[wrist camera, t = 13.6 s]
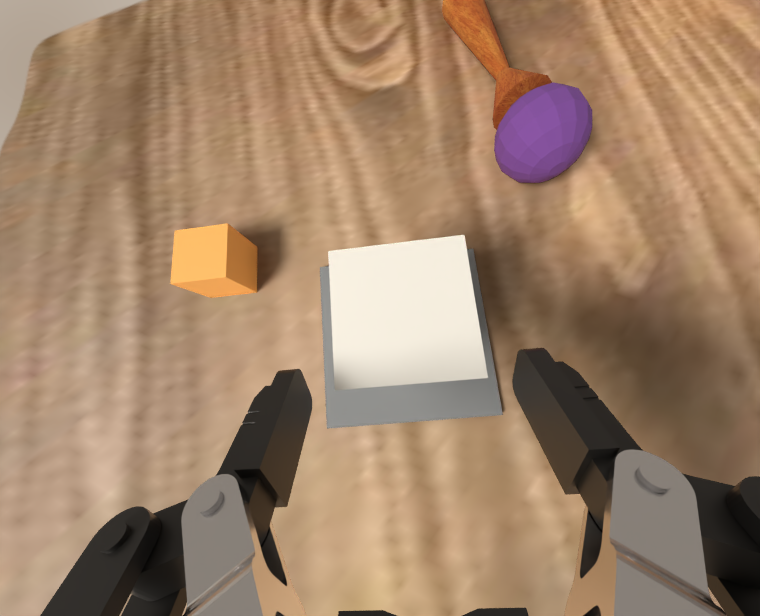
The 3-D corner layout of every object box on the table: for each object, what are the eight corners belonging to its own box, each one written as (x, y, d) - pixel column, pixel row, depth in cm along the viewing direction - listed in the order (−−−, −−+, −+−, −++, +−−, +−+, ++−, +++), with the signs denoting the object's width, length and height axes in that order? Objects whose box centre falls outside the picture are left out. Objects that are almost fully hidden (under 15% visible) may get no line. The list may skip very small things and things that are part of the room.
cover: (363, 302, 21) (328, 251, 11) (437, 294, 20) (464, 234, 11) (369, 378, 19) (334, 390, 10) (448, 371, 19) (487, 377, 10)
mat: (321, 269, 22) (319, 267, 21) (471, 250, 21) (473, 248, 21) (328, 427, 19) (326, 428, 19) (500, 413, 18) (502, 414, 18)
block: (213, 253, 23) (174, 230, 19) (258, 247, 23) (227, 223, 19) (211, 298, 22) (170, 283, 19) (257, 292, 22) (225, 277, 18)
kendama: (506, -53, 22) (635, 121, 16) (476, 39, 28) (564, 193, 22) (438, -50, 21) (548, 133, 15) (422, 44, 27) (498, 205, 21)
